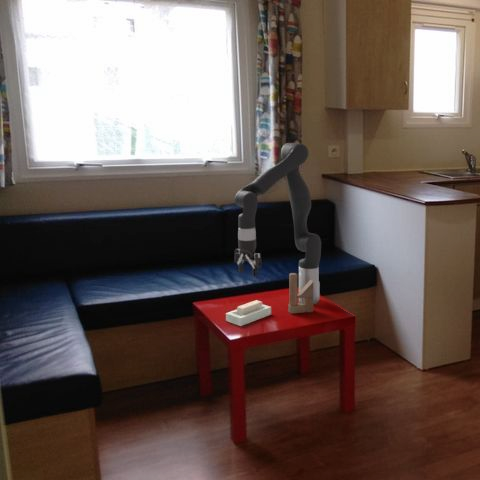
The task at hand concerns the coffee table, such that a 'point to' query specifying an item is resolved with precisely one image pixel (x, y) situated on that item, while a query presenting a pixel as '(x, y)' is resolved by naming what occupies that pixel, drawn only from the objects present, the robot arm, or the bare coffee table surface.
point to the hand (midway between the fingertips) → (248, 274)
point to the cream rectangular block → (249, 307)
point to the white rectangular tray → (248, 316)
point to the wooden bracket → (300, 296)
